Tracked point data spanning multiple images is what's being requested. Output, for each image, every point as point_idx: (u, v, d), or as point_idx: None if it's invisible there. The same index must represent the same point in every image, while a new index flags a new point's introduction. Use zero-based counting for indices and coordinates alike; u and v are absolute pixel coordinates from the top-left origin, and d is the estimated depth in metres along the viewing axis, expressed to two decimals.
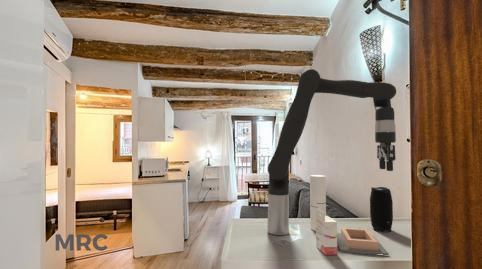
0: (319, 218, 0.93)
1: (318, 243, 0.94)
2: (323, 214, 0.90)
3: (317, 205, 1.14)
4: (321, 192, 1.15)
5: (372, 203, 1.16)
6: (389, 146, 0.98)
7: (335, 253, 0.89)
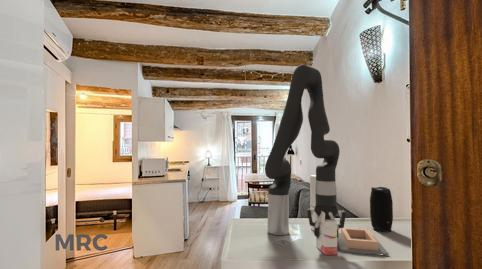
0: None
1: (318, 243, 0.94)
2: (323, 214, 0.90)
3: None
4: None
5: (372, 203, 1.16)
6: None
7: (335, 253, 0.89)
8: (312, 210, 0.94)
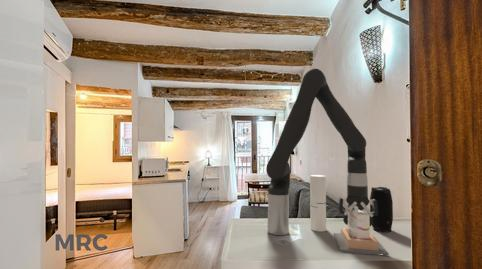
0: (352, 212, 0.99)
1: (350, 235, 1.00)
2: (356, 207, 0.96)
3: (317, 205, 1.14)
4: (321, 192, 1.15)
5: None
6: None
7: None
8: (344, 199, 1.00)
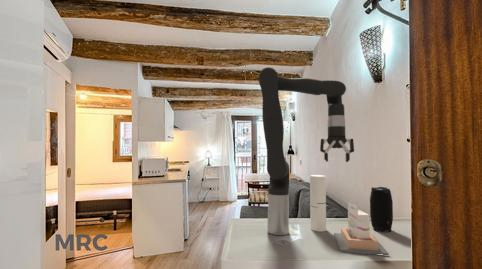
0: (352, 212, 0.99)
1: (350, 235, 1.00)
2: (356, 207, 0.96)
3: (317, 205, 1.14)
4: (321, 192, 1.15)
5: (372, 203, 1.16)
6: None
7: None
8: (325, 140, 1.13)
